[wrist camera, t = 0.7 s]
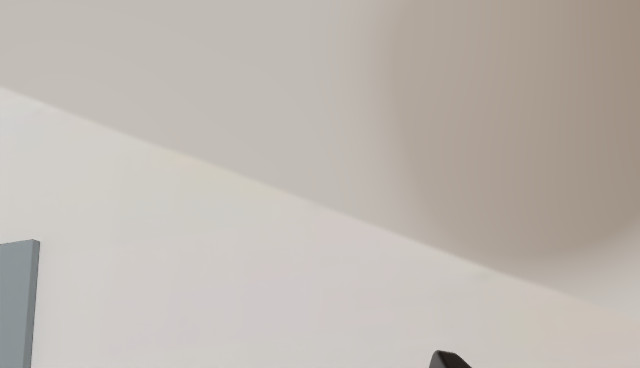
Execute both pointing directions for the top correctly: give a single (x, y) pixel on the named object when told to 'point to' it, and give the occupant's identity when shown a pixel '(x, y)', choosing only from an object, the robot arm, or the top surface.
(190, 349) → the top surface
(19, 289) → the slate coaster
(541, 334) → the top surface
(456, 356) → the robot arm
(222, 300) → the top surface
